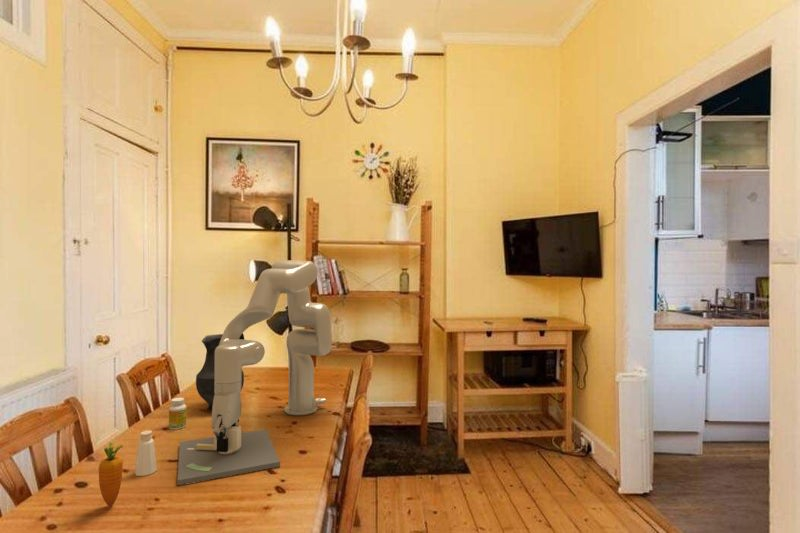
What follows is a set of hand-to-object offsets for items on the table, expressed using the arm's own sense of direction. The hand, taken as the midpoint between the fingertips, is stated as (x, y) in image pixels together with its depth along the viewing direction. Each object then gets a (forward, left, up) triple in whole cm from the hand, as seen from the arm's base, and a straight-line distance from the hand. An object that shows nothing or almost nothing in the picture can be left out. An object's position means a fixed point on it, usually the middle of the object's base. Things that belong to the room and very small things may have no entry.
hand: (227, 446), depth 131 cm
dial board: (0, 0, -3) cm, 3 cm away
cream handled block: (+3, -2, -1) cm, 3 cm away
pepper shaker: (+21, +1, -3) cm, 21 cm away
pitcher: (-2, -47, -3) cm, 47 cm away
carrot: (+27, +17, -3) cm, 32 cm away
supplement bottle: (+14, -31, -3) cm, 34 cm away
